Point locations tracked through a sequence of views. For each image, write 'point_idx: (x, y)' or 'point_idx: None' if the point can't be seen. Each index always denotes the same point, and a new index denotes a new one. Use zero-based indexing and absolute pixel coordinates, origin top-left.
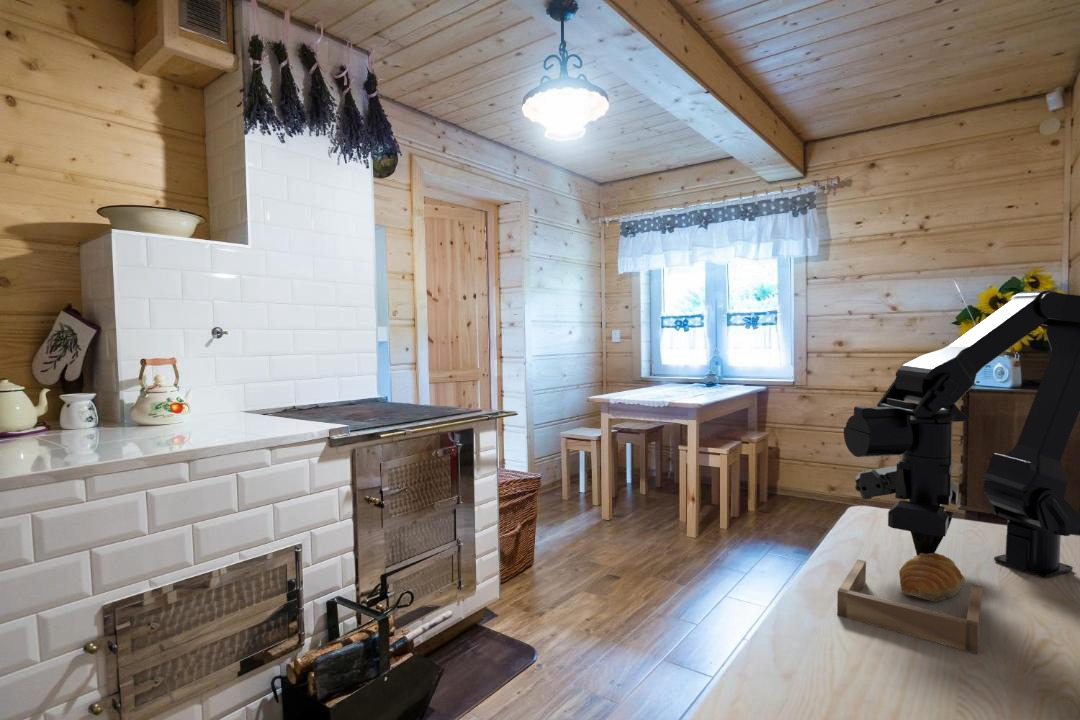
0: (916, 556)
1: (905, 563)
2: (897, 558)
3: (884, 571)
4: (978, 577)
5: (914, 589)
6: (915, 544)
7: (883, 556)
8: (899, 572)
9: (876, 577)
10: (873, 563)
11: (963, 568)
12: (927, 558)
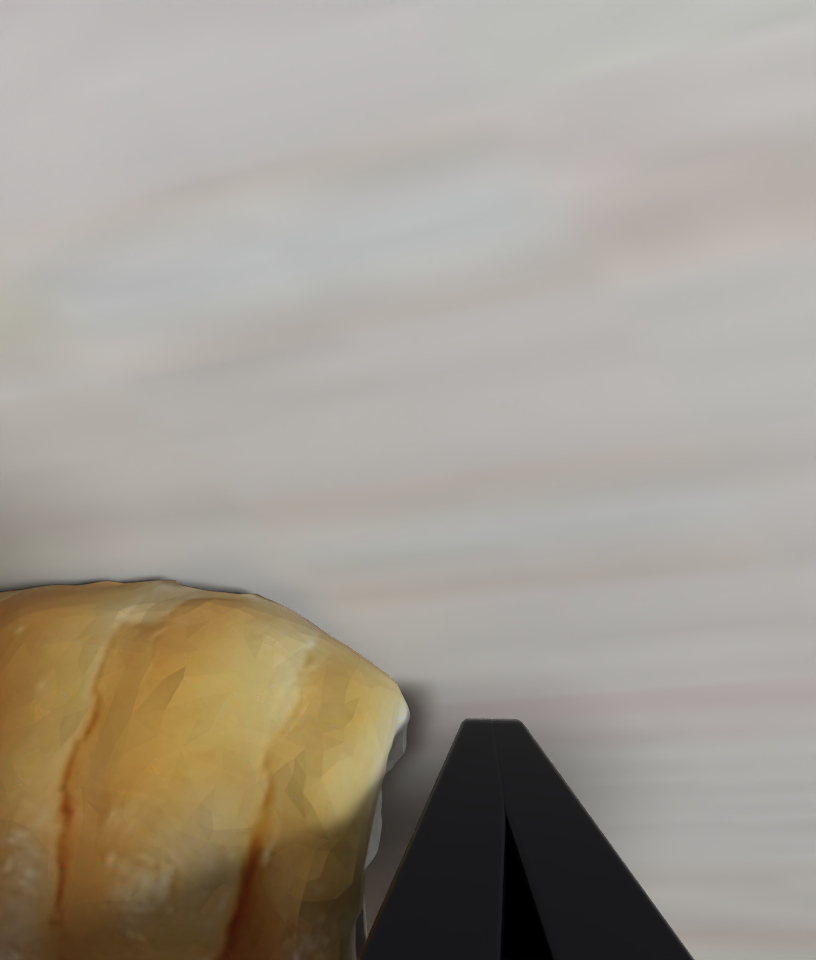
0: (288, 816)
1: (124, 691)
2: (755, 444)
3: (270, 398)
4: None
5: None
6: (364, 945)
7: (748, 300)
8: (5, 616)
9: (49, 361)
10: (432, 246)
11: (763, 877)
12: (157, 958)
